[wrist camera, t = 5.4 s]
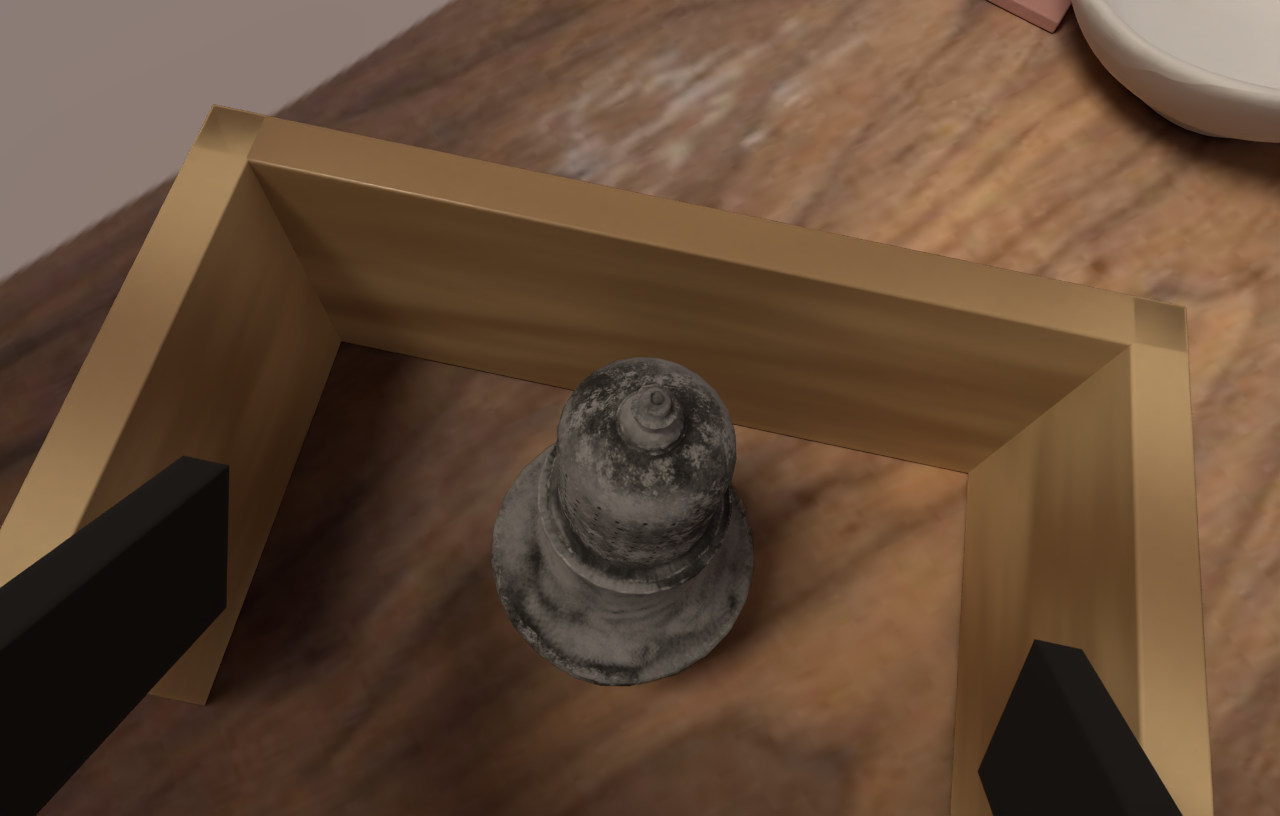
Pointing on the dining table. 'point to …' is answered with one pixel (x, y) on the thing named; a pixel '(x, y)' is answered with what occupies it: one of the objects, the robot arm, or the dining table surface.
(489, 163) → the cubby
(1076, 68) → the dining table surface
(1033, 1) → the mat
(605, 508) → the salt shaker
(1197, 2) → the spoon rest
